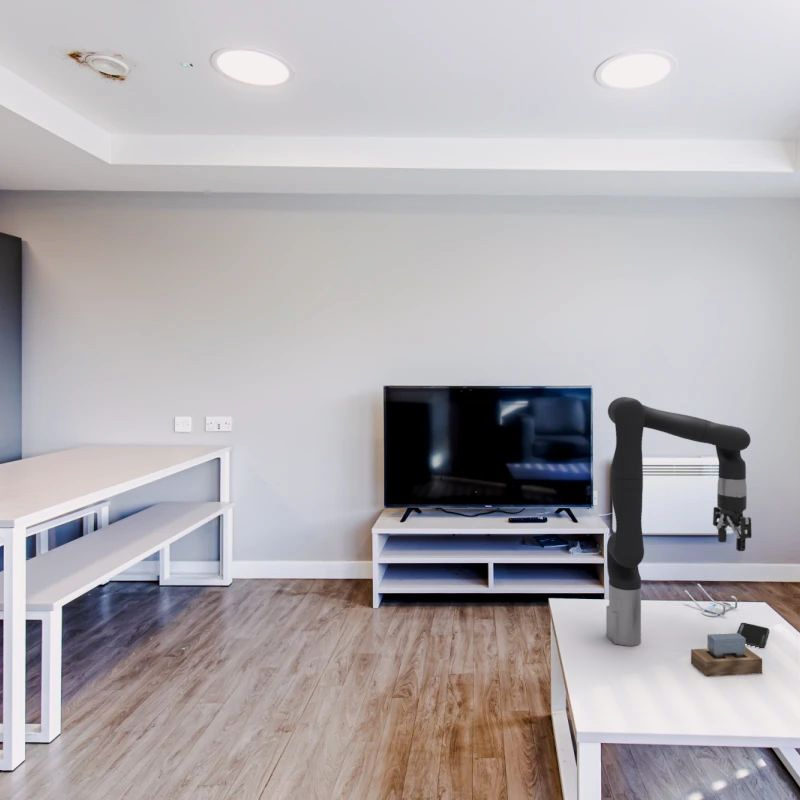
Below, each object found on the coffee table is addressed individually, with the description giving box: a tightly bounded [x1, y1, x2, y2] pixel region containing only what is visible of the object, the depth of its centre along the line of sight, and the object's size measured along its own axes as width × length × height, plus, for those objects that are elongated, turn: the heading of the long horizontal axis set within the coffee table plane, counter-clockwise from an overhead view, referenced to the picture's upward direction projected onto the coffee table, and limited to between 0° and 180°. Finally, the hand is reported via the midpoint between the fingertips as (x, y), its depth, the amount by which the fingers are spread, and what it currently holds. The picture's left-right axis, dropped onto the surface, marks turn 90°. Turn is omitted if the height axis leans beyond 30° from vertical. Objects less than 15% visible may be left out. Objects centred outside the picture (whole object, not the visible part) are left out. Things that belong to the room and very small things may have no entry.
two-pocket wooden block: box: [690, 646, 763, 677], centre depth 157 cm, size 16×7×4 cm, turn 94°
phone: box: [736, 622, 770, 649], centre depth 175 cm, size 8×1×15 cm
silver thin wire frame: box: [684, 583, 738, 618], centre depth 196 cm, size 16×14×6 cm
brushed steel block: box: [706, 632, 746, 659], centre depth 157 cm, size 9×3×8 cm, turn 93°
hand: (731, 546), depth 169 cm, fingers open, 8 cm apart
